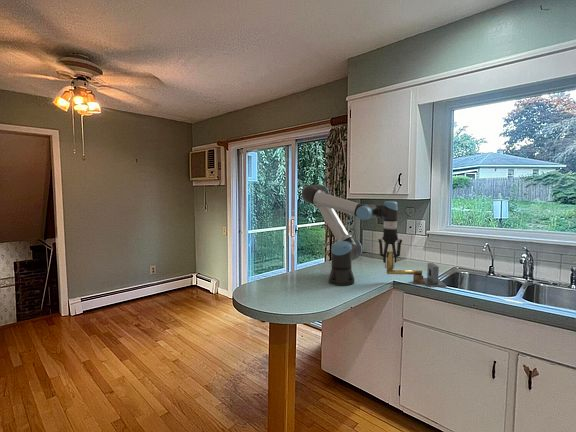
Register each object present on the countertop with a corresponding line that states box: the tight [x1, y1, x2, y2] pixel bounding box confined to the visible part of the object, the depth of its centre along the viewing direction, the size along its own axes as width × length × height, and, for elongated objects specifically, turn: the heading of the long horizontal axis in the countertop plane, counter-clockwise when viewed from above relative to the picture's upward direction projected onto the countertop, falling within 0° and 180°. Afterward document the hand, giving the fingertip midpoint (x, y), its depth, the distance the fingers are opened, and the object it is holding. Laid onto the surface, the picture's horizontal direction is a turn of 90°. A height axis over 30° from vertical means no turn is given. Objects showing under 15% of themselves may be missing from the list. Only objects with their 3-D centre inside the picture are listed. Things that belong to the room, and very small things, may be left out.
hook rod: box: [386, 250, 423, 275], centre depth 183 cm, size 20×3×13 cm, turn 85°
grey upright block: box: [423, 262, 447, 288], centre depth 182 cm, size 10×14×10 cm
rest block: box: [412, 274, 424, 285], centre depth 183 cm, size 4×5×5 cm
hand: (389, 268), depth 184 cm, fingers closed on hook rod, 3 cm apart
